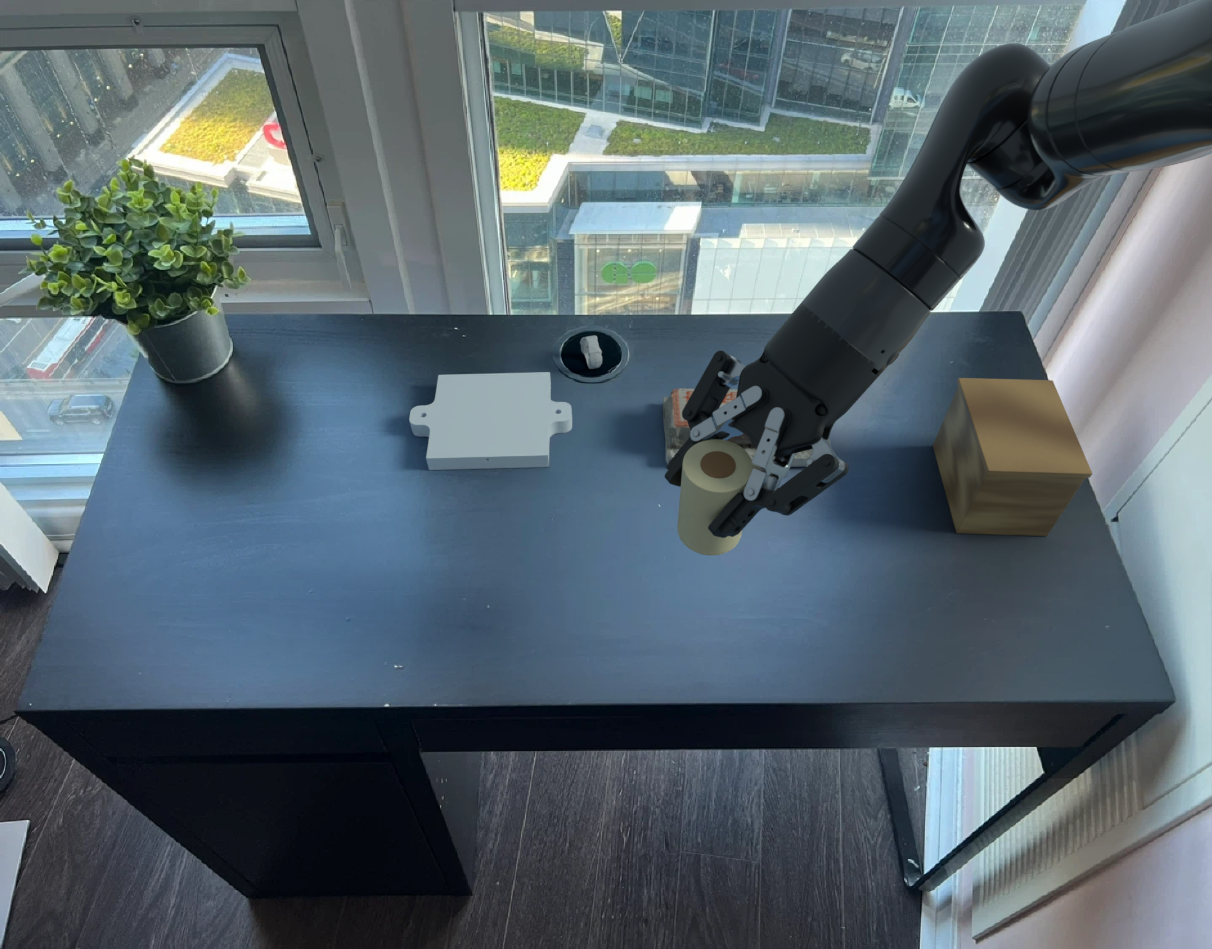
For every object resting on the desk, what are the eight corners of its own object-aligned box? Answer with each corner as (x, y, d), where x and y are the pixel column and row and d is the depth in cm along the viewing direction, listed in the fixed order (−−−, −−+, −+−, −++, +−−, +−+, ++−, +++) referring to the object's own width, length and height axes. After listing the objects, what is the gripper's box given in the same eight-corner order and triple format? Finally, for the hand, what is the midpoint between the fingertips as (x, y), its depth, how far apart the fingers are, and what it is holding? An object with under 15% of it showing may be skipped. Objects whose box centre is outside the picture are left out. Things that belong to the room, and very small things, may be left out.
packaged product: (667, 439, 87) (663, 373, 93) (665, 469, 91) (661, 404, 97) (842, 438, 87) (826, 372, 93) (832, 469, 90) (818, 403, 97)
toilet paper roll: (755, 534, 68) (768, 469, 62) (706, 566, 66) (715, 502, 60) (712, 494, 70) (720, 428, 64) (664, 524, 68) (668, 459, 62)
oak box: (1049, 538, 84) (1093, 473, 77) (954, 535, 85) (988, 470, 77) (1016, 446, 92) (1052, 380, 85) (930, 444, 93) (958, 377, 85)
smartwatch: (604, 373, 100) (604, 347, 97) (587, 376, 100) (586, 350, 97) (597, 354, 103) (596, 328, 100) (580, 357, 102) (579, 331, 99)
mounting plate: (405, 470, 91) (402, 458, 89) (419, 387, 99) (416, 375, 98) (572, 466, 91) (571, 454, 90) (572, 383, 99) (571, 371, 98)
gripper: (757, 260, 60) (615, 439, 65) (899, 378, 52) (724, 570, 57) (802, 296, 66) (668, 457, 71) (937, 406, 58) (775, 579, 63)
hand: (694, 507), depth 64 cm, fingers closed on toilet paper roll, 5 cm apart
